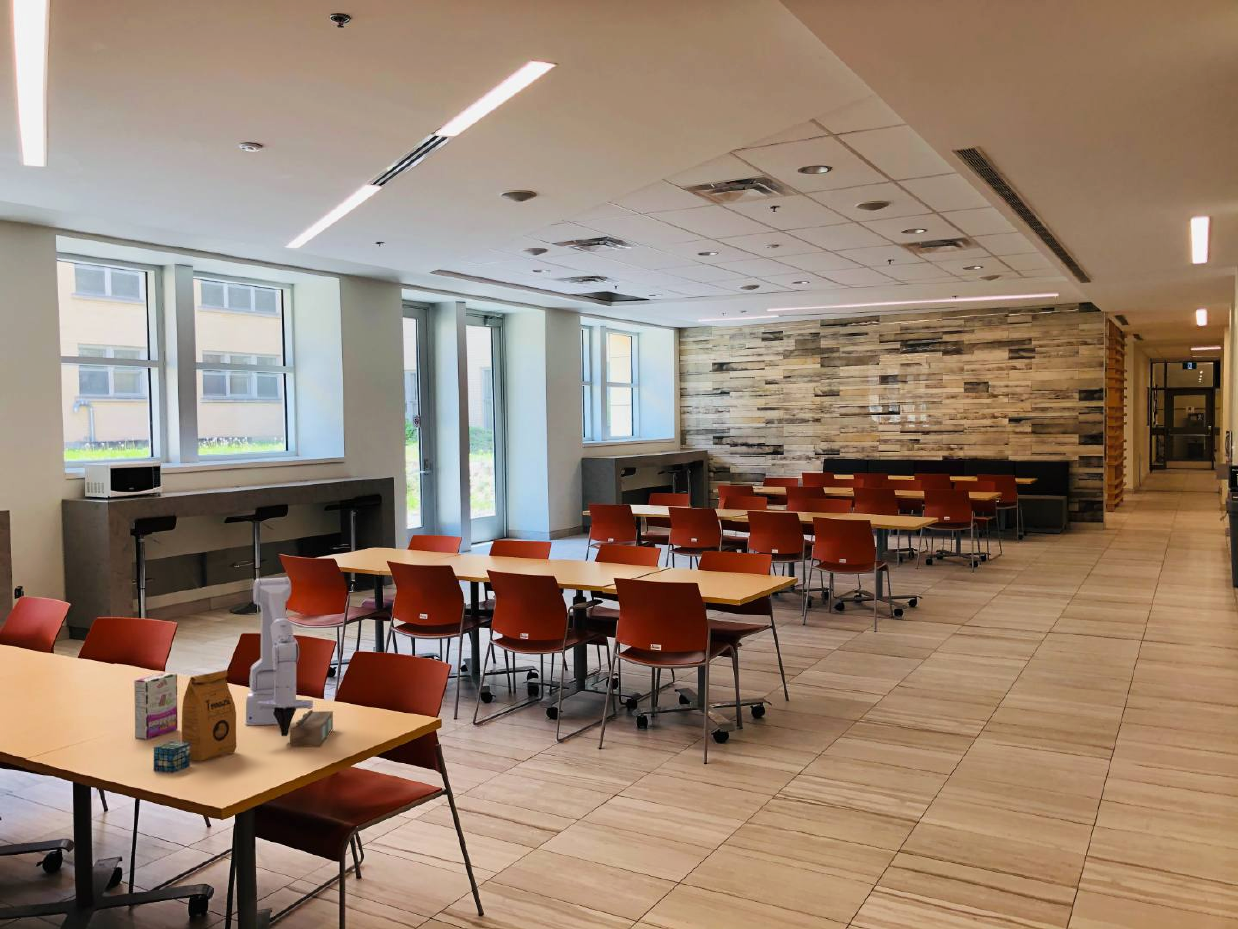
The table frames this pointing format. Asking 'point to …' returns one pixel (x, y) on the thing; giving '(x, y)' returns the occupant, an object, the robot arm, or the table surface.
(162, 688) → the candy bar box
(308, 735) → the sleeve block
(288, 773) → the table surface
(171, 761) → the puzzle
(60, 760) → the table surface
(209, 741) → the coffee package
